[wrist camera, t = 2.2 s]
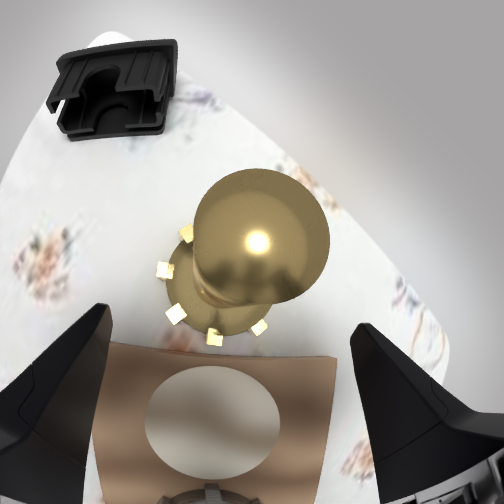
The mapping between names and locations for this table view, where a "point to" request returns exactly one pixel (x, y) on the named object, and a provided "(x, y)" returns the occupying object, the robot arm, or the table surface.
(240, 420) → the carrier board
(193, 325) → the gear
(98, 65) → the end cap
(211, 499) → the sun gear
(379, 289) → the table surface
